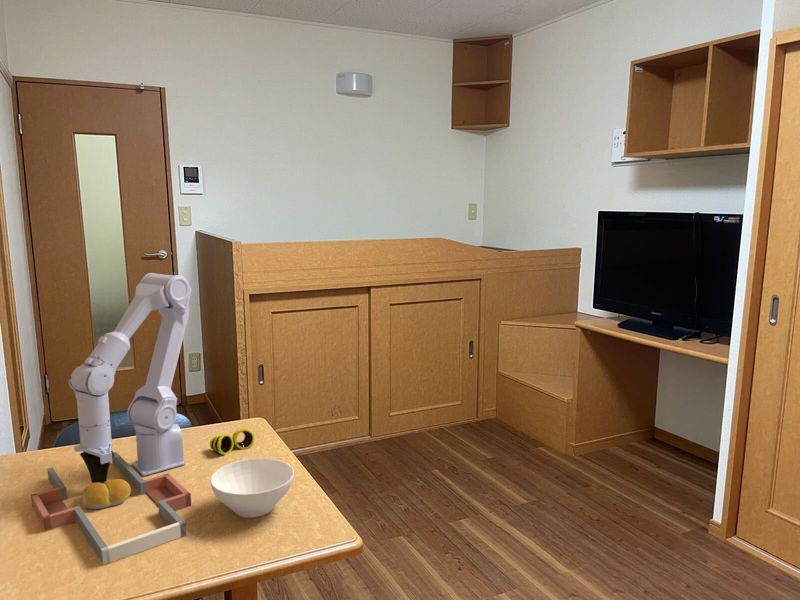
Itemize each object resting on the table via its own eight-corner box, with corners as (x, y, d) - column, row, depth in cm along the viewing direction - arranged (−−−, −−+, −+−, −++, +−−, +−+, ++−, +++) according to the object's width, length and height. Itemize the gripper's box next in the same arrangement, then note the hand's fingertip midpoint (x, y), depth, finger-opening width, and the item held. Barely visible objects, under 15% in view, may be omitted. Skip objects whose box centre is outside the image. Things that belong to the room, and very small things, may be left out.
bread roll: (134, 502, 121) (133, 483, 120) (85, 514, 116) (83, 495, 115) (126, 486, 127) (125, 468, 127) (79, 497, 122) (77, 479, 122)
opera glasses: (246, 444, 152) (243, 425, 152) (256, 447, 148) (253, 427, 148) (209, 455, 145) (207, 435, 145) (219, 457, 142) (216, 437, 141)
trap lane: (139, 456, 142) (138, 446, 142) (212, 525, 112) (212, 513, 111) (21, 486, 127) (20, 475, 126) (70, 577, 96) (68, 562, 96)
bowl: (241, 539, 107) (240, 503, 106) (196, 509, 118) (194, 475, 117) (311, 507, 119) (310, 474, 118) (264, 482, 130) (263, 451, 129)
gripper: (64, 417, 125) (69, 478, 128) (82, 437, 115) (87, 503, 117) (100, 409, 130) (105, 468, 132) (121, 428, 119) (125, 492, 121)
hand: (99, 484), depth 125 cm, fingers closed
